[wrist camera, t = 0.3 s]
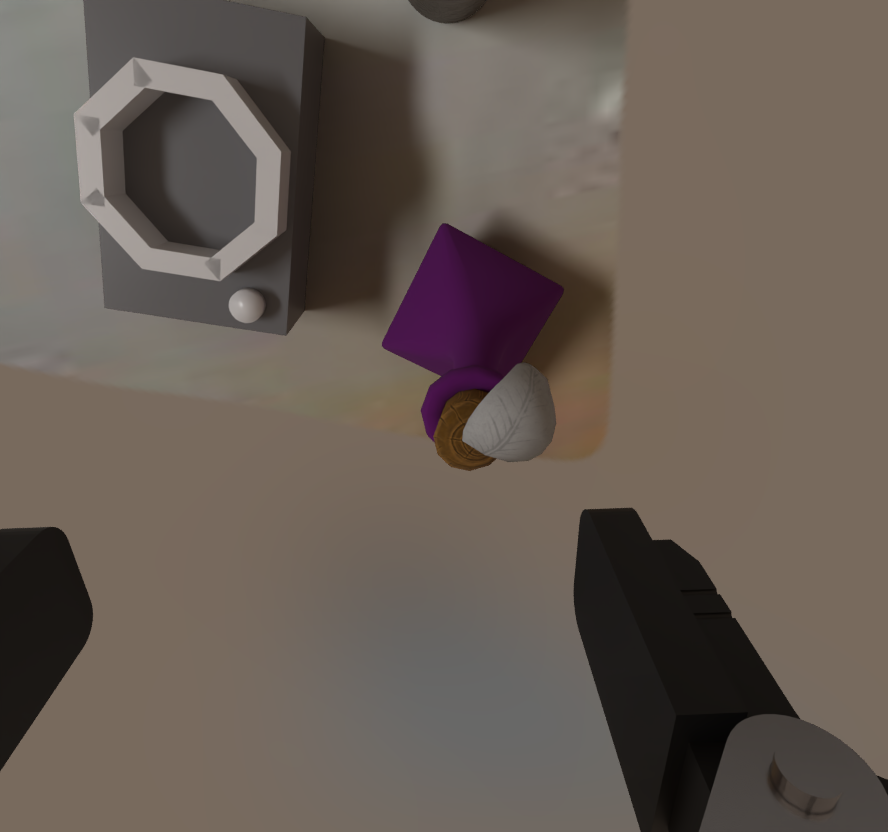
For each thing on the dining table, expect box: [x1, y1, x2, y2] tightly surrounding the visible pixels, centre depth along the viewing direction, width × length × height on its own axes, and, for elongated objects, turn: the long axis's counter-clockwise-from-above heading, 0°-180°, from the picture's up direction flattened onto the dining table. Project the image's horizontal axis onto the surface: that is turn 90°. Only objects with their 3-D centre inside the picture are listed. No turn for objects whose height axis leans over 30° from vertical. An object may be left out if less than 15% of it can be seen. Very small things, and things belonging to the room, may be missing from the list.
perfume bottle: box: [382, 223, 564, 471], centre depth 27 cm, size 8×8×18 cm
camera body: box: [74, 0, 324, 336], centre depth 28 cm, size 14×9×7 cm, turn 170°
